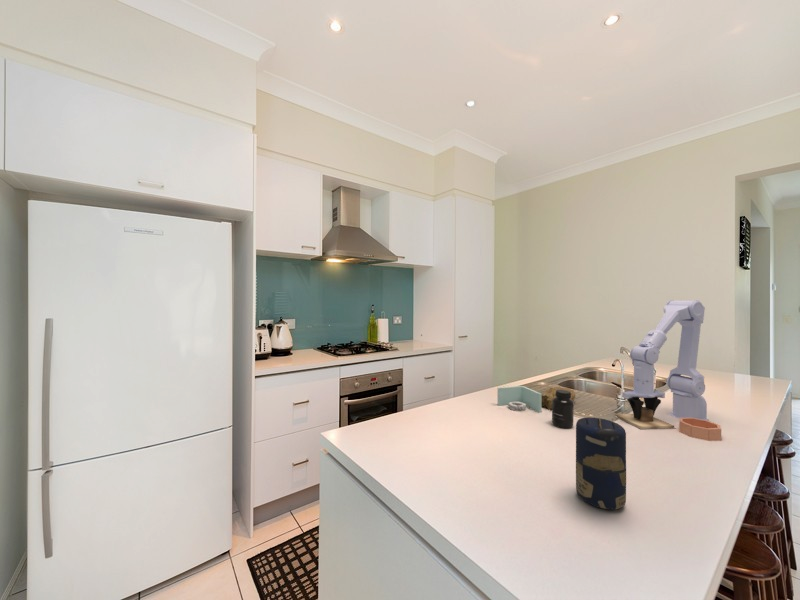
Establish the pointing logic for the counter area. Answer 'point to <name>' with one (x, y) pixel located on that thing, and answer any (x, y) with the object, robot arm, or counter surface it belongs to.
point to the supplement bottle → (562, 410)
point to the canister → (601, 462)
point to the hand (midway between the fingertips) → (643, 418)
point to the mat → (646, 429)
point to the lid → (645, 420)
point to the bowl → (700, 429)
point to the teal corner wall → (519, 398)
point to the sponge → (553, 396)
